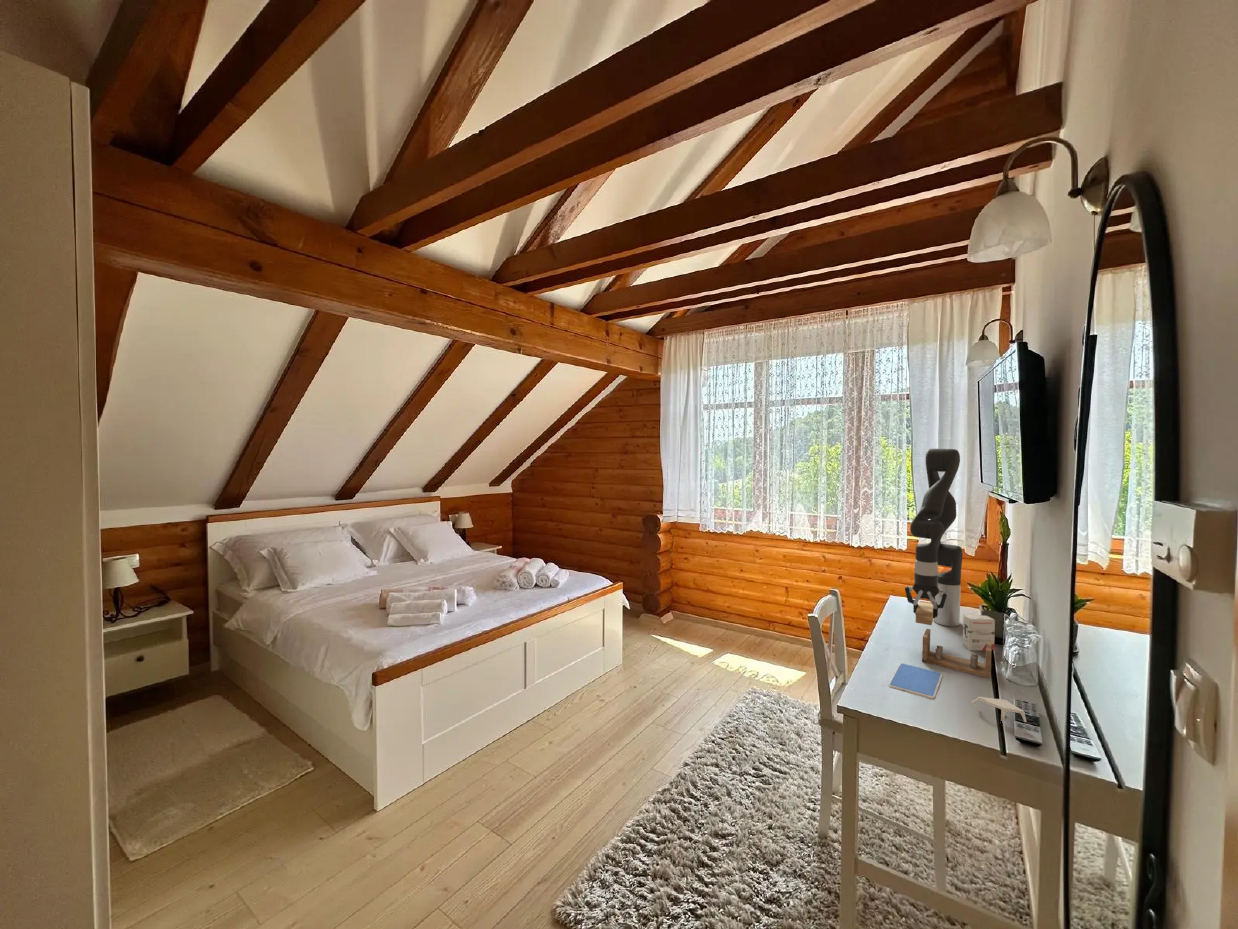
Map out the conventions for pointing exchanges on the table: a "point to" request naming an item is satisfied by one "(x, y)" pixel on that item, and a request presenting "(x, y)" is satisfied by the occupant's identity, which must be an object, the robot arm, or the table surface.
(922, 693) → the blue flat rectangular panel
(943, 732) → the table surface
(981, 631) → the ink box
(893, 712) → the table surface
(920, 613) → the golden rectangular block
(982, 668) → the peg stand
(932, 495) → the robot arm
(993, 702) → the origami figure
